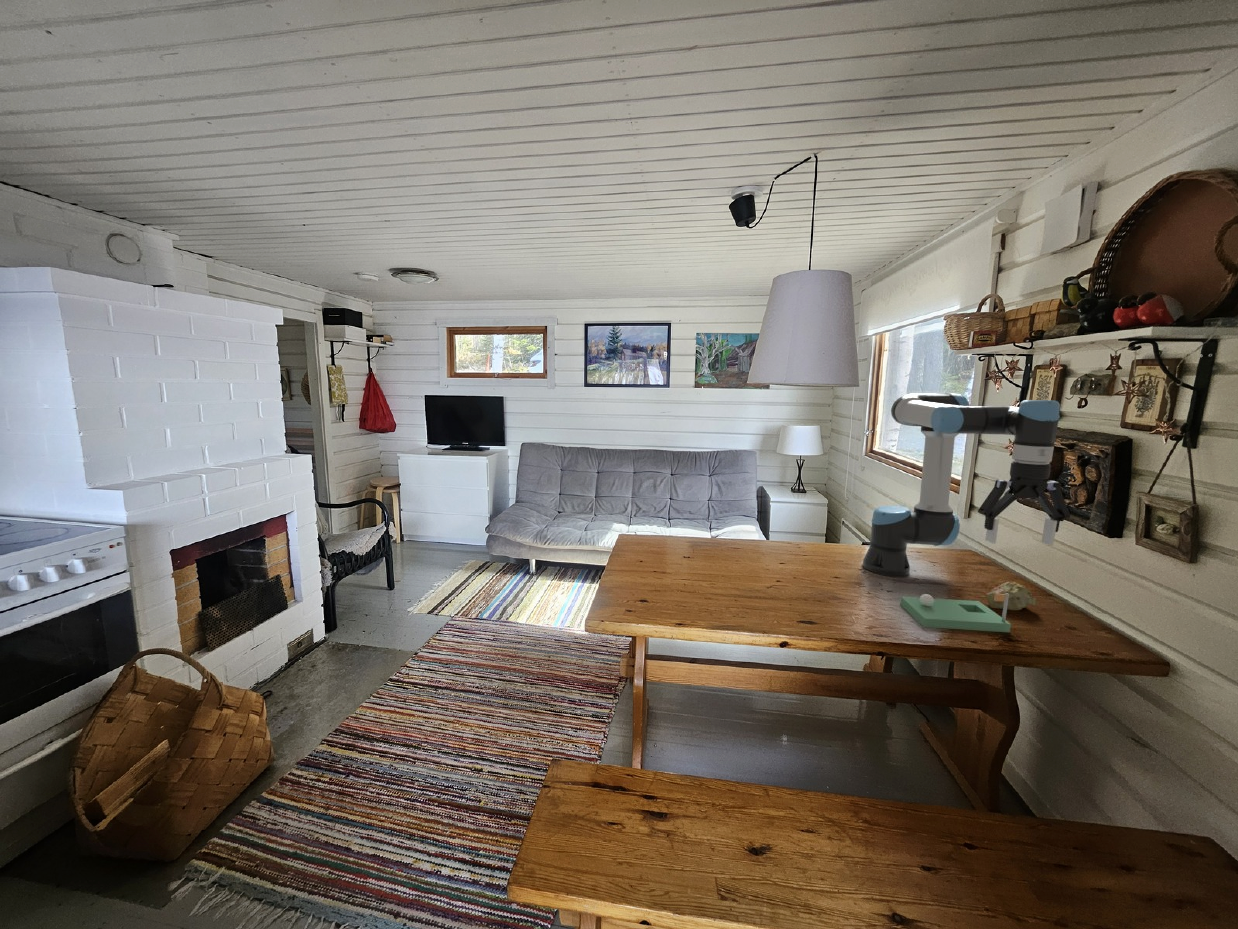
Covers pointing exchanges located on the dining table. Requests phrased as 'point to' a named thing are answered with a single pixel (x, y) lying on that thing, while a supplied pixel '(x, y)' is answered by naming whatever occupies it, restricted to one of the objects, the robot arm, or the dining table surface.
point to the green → (958, 614)
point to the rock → (1011, 596)
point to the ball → (926, 600)
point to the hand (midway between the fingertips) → (1018, 542)
